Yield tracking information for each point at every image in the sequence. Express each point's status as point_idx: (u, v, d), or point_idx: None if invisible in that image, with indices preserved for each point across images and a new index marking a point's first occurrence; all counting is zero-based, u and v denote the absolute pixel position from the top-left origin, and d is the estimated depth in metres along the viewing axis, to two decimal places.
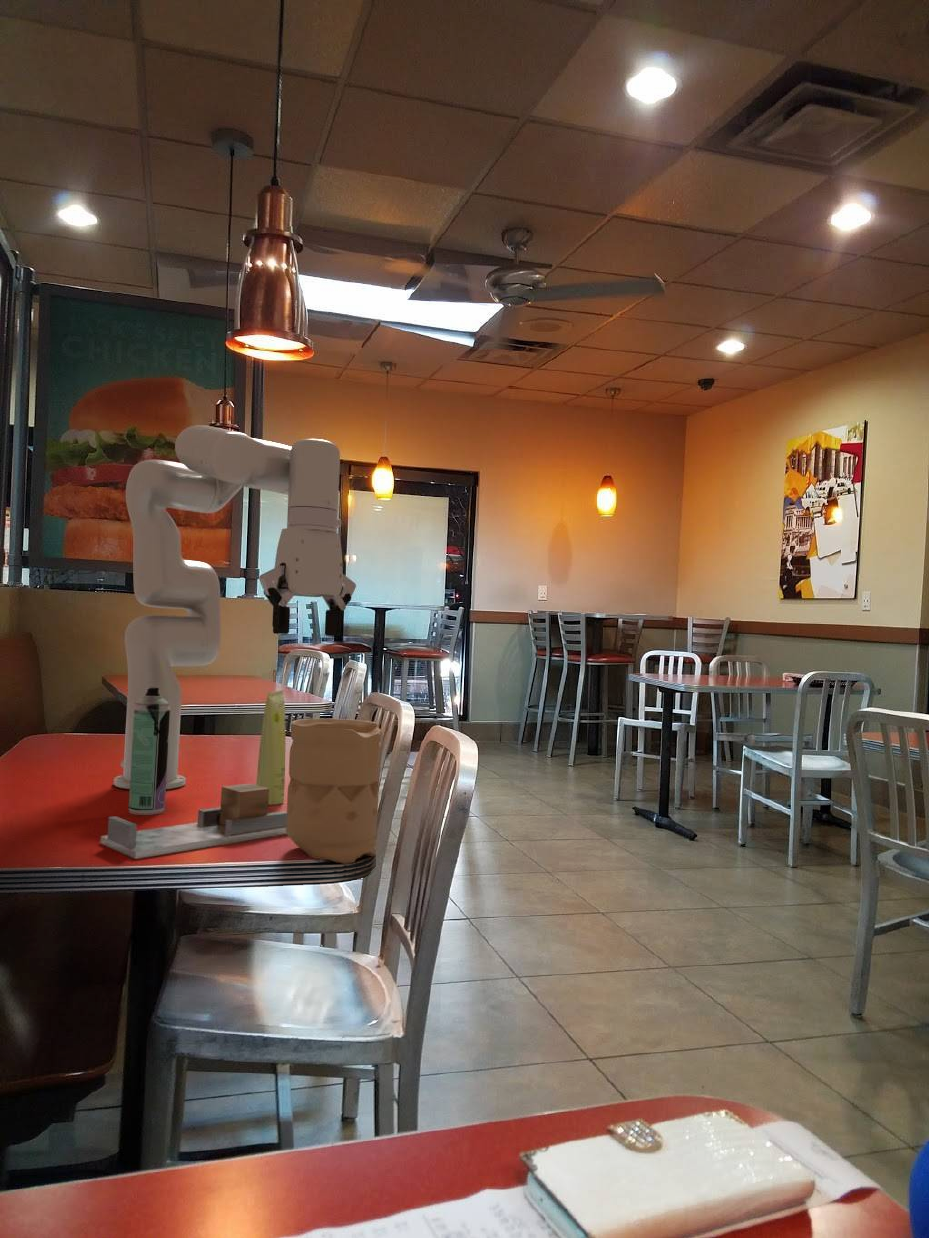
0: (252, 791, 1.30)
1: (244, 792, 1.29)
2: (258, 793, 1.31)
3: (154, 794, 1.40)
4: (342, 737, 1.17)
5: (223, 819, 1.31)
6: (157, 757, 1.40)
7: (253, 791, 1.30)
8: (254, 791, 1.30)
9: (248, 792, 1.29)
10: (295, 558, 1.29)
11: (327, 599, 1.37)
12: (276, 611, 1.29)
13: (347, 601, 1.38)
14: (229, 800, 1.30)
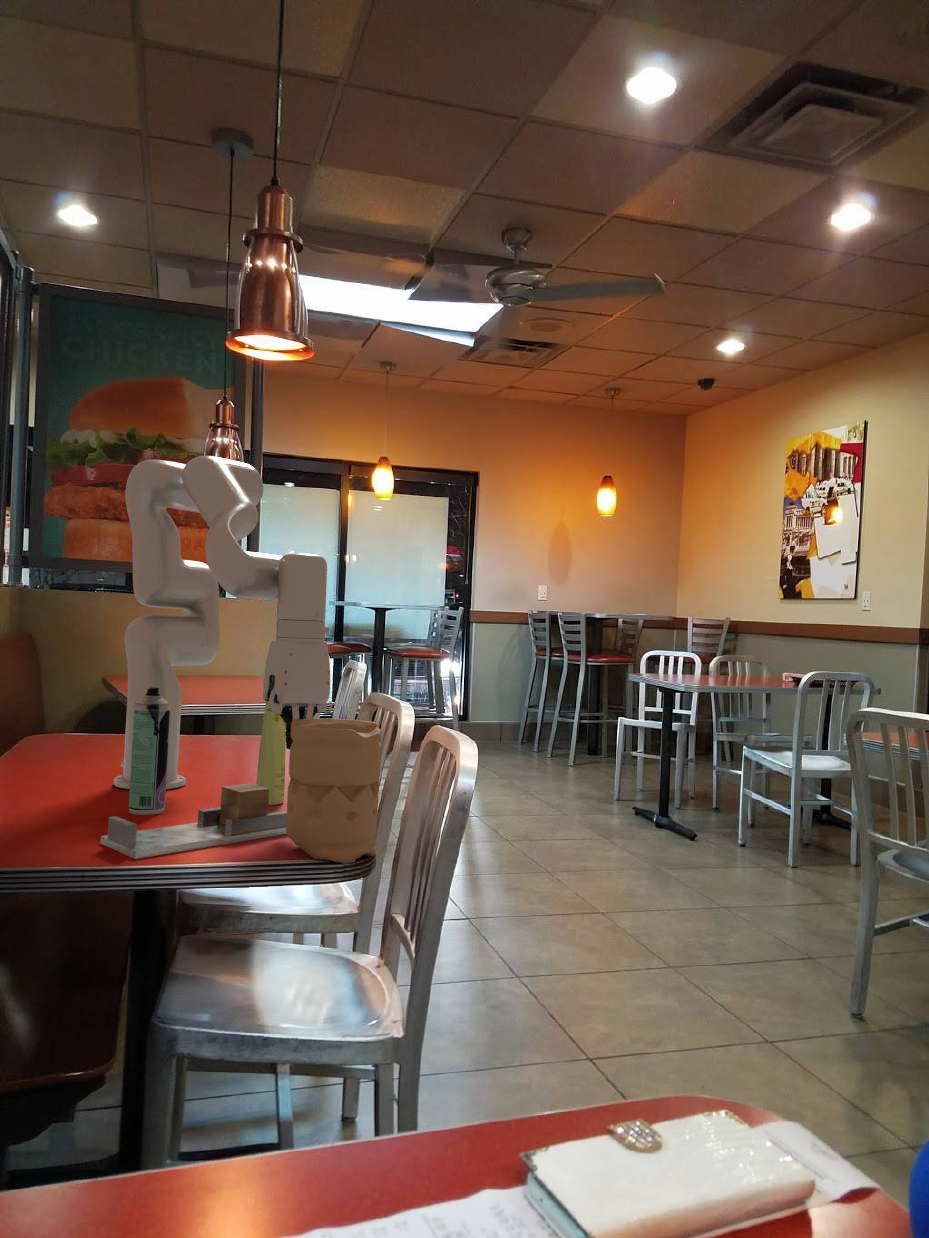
0: (252, 791, 1.30)
1: (244, 792, 1.29)
2: (258, 793, 1.31)
3: (154, 794, 1.40)
4: (342, 737, 1.17)
5: (223, 819, 1.31)
6: (157, 757, 1.40)
7: (253, 791, 1.30)
8: (254, 791, 1.30)
9: (248, 792, 1.29)
10: (283, 671, 1.33)
11: (299, 708, 1.39)
12: (289, 729, 1.37)
13: (313, 714, 1.39)
14: (229, 800, 1.30)
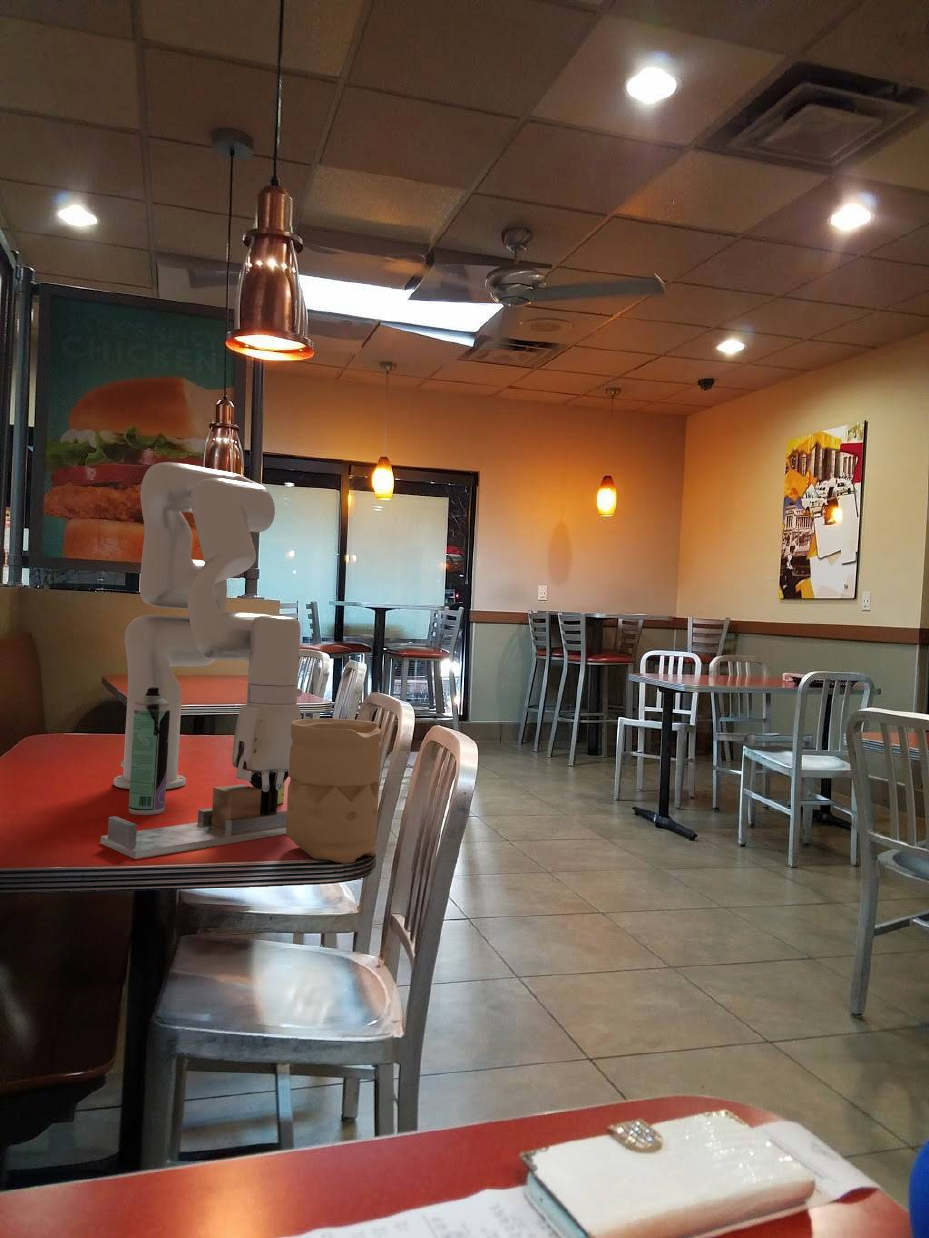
0: (244, 792, 1.29)
1: (236, 793, 1.28)
2: (250, 794, 1.30)
3: (154, 794, 1.40)
4: (342, 737, 1.17)
5: (215, 820, 1.30)
6: (157, 757, 1.40)
7: (245, 792, 1.29)
8: (246, 792, 1.29)
9: (240, 793, 1.28)
10: (253, 738, 1.30)
11: (270, 773, 1.36)
12: None
13: (284, 779, 1.36)
14: (221, 801, 1.29)
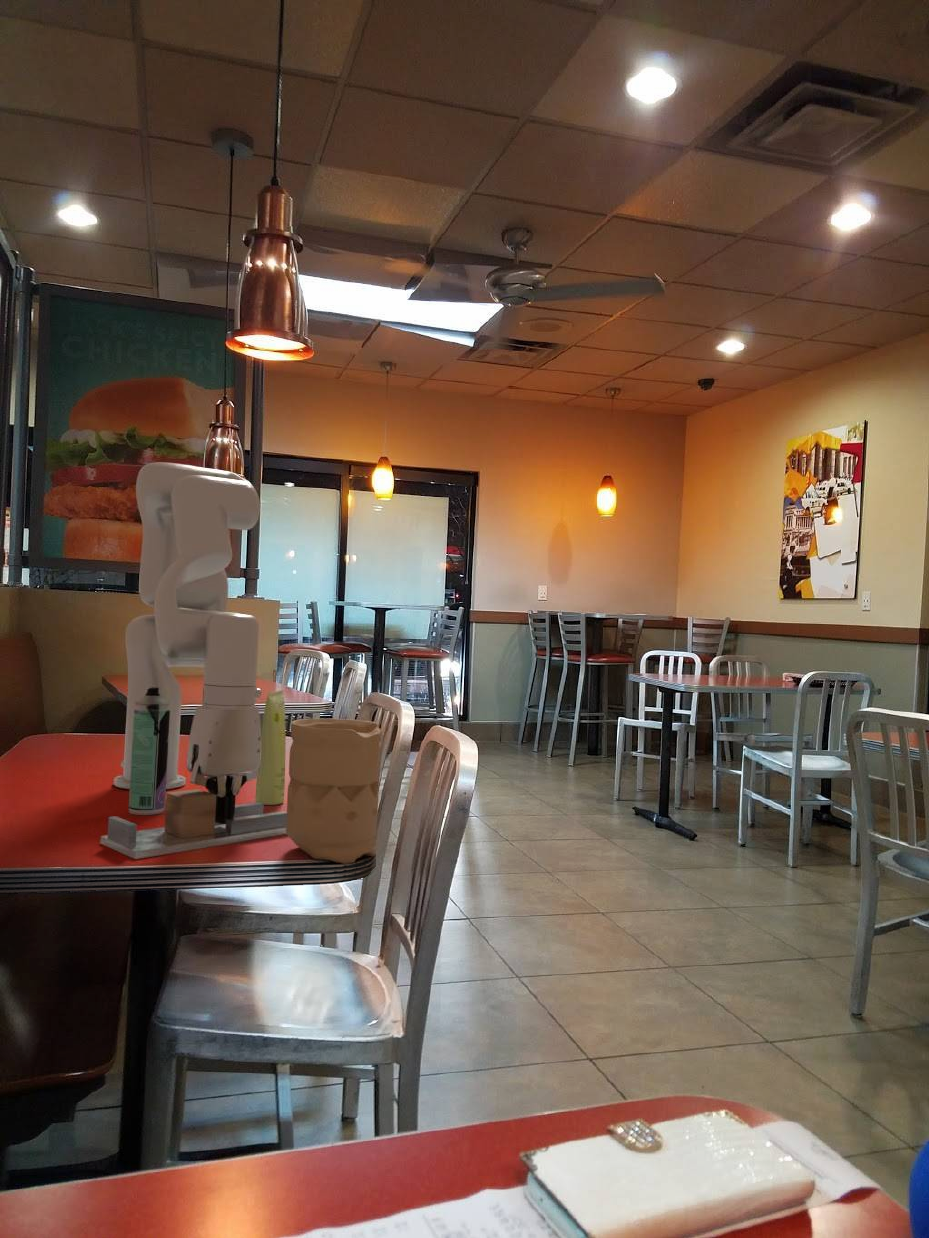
0: (197, 798, 1.23)
1: (189, 799, 1.22)
2: (204, 799, 1.24)
3: (154, 794, 1.40)
4: (342, 737, 1.17)
5: (167, 827, 1.24)
6: (157, 757, 1.40)
7: (199, 798, 1.23)
8: (200, 798, 1.23)
9: (193, 799, 1.23)
10: (208, 741, 1.25)
11: (227, 777, 1.30)
12: None
13: (242, 784, 1.30)
14: (174, 807, 1.23)
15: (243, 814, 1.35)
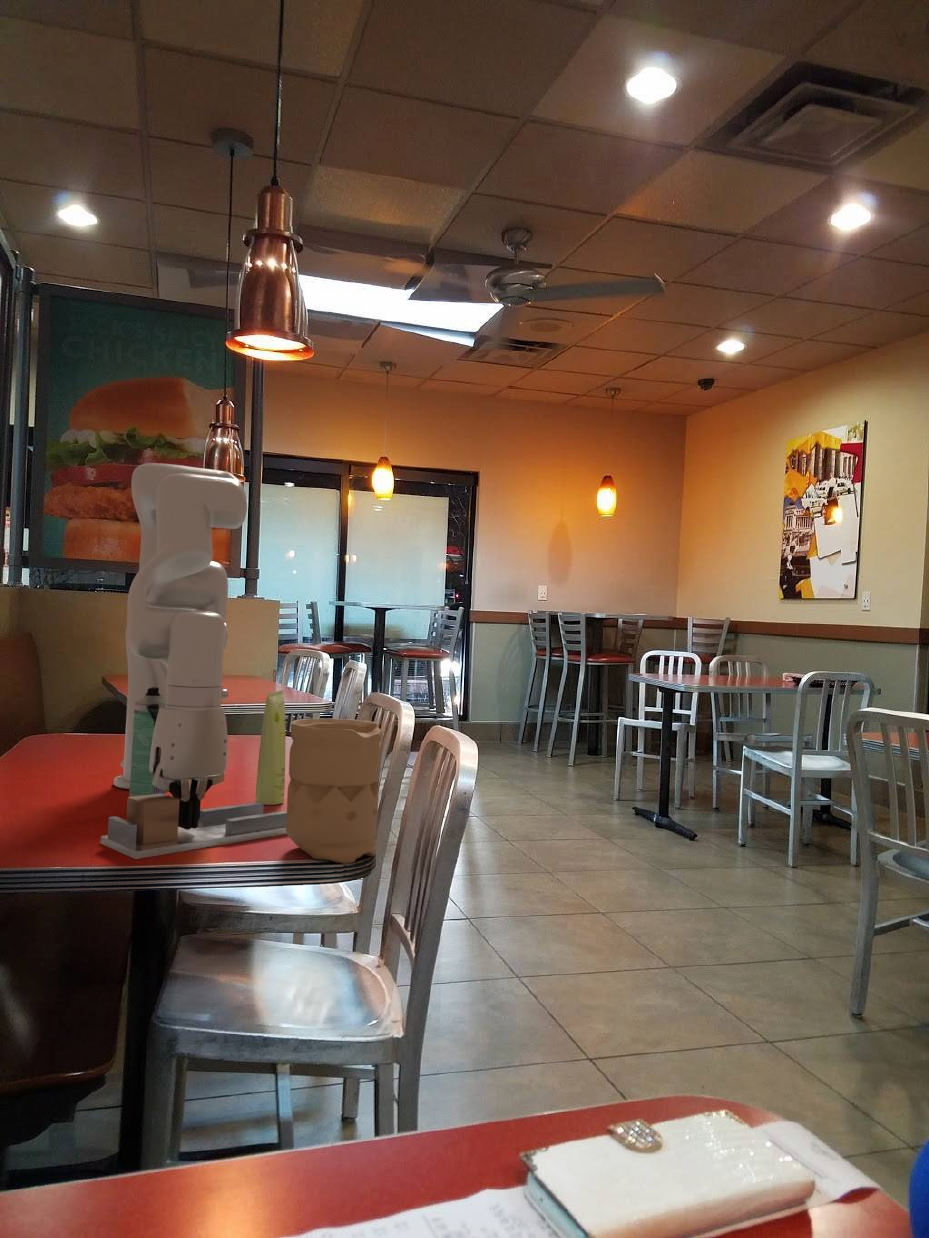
0: (159, 802, 1.19)
1: (150, 803, 1.18)
2: (167, 804, 1.20)
3: None
4: (342, 737, 1.17)
5: None
6: None
7: (160, 802, 1.19)
8: (162, 802, 1.19)
9: (154, 803, 1.18)
10: (170, 743, 1.20)
11: (192, 781, 1.26)
12: None
13: (207, 787, 1.26)
14: (135, 812, 1.19)
15: (243, 814, 1.35)
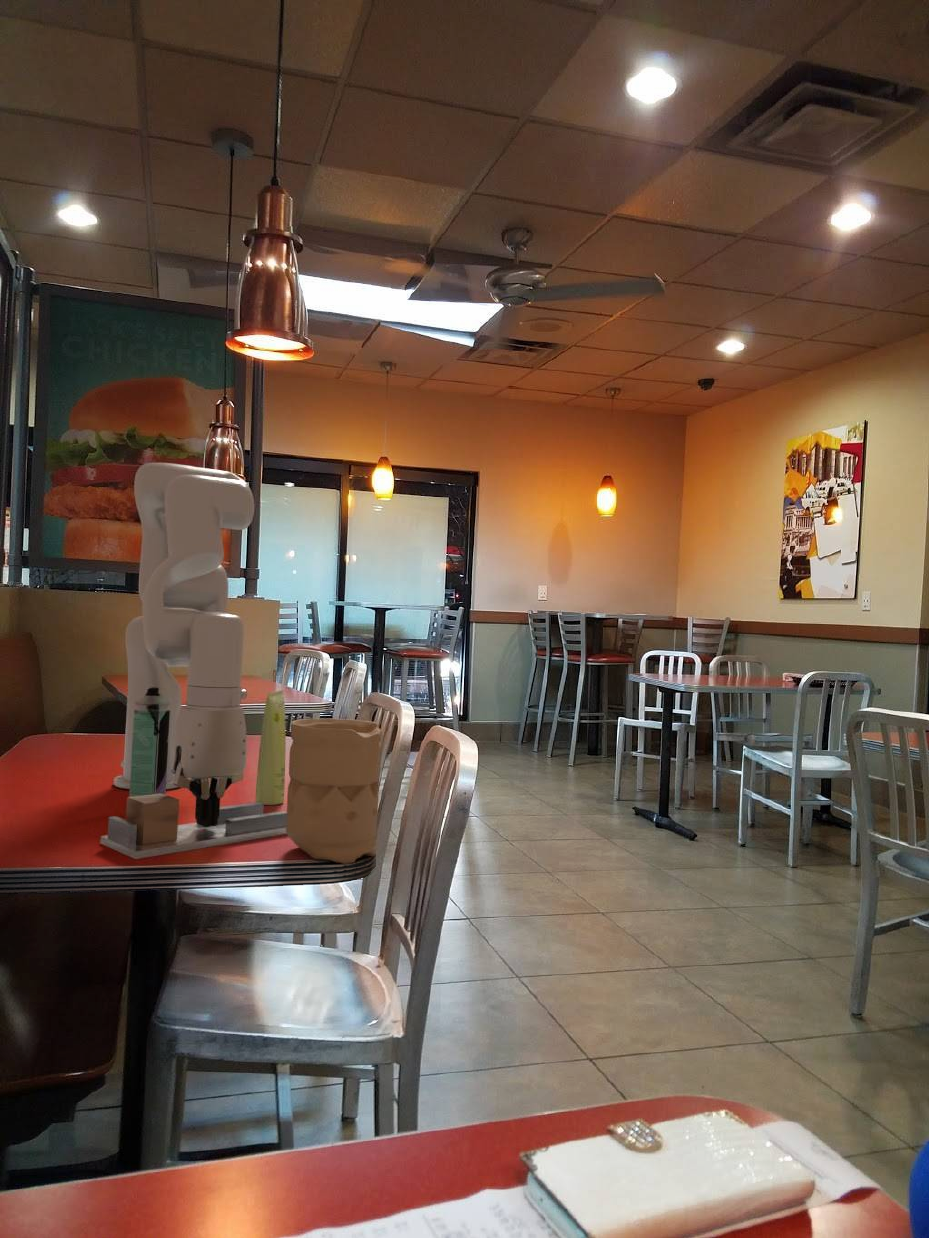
0: (159, 802, 1.19)
1: (149, 803, 1.18)
2: (166, 804, 1.20)
3: None
4: (342, 737, 1.17)
5: None
6: (157, 757, 1.40)
7: (160, 802, 1.19)
8: (161, 802, 1.19)
9: (154, 803, 1.18)
10: (191, 742, 1.23)
11: (212, 779, 1.29)
12: (198, 803, 1.26)
13: (227, 786, 1.29)
14: (134, 812, 1.19)
15: (243, 814, 1.35)
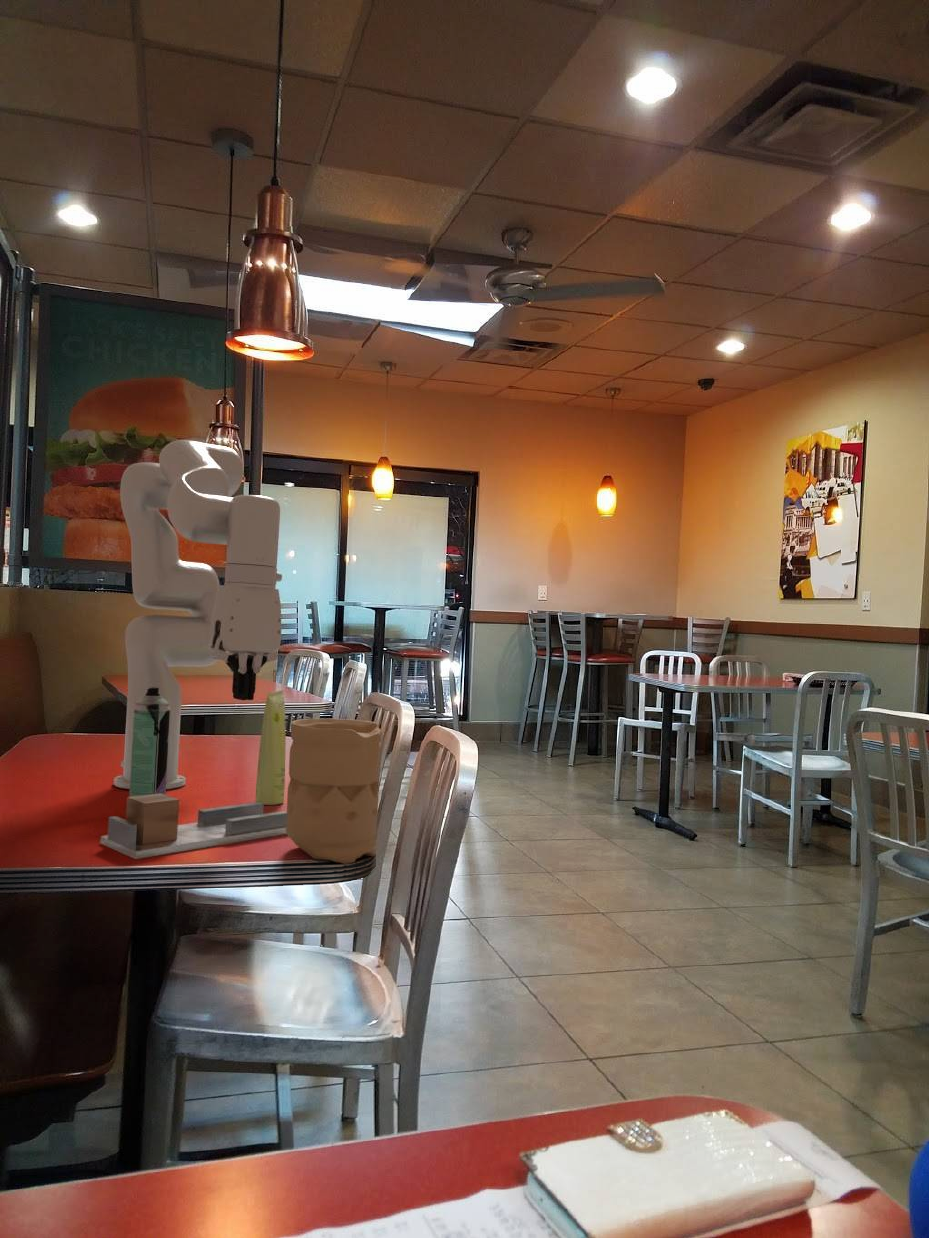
0: (159, 802, 1.19)
1: (149, 803, 1.18)
2: (166, 804, 1.20)
3: None
4: (342, 737, 1.17)
5: None
6: (157, 757, 1.40)
7: (160, 802, 1.19)
8: (161, 802, 1.19)
9: (154, 803, 1.18)
10: (230, 616, 1.28)
11: (248, 657, 1.34)
12: (236, 677, 1.32)
13: (262, 663, 1.34)
14: (134, 812, 1.19)
15: (243, 814, 1.35)
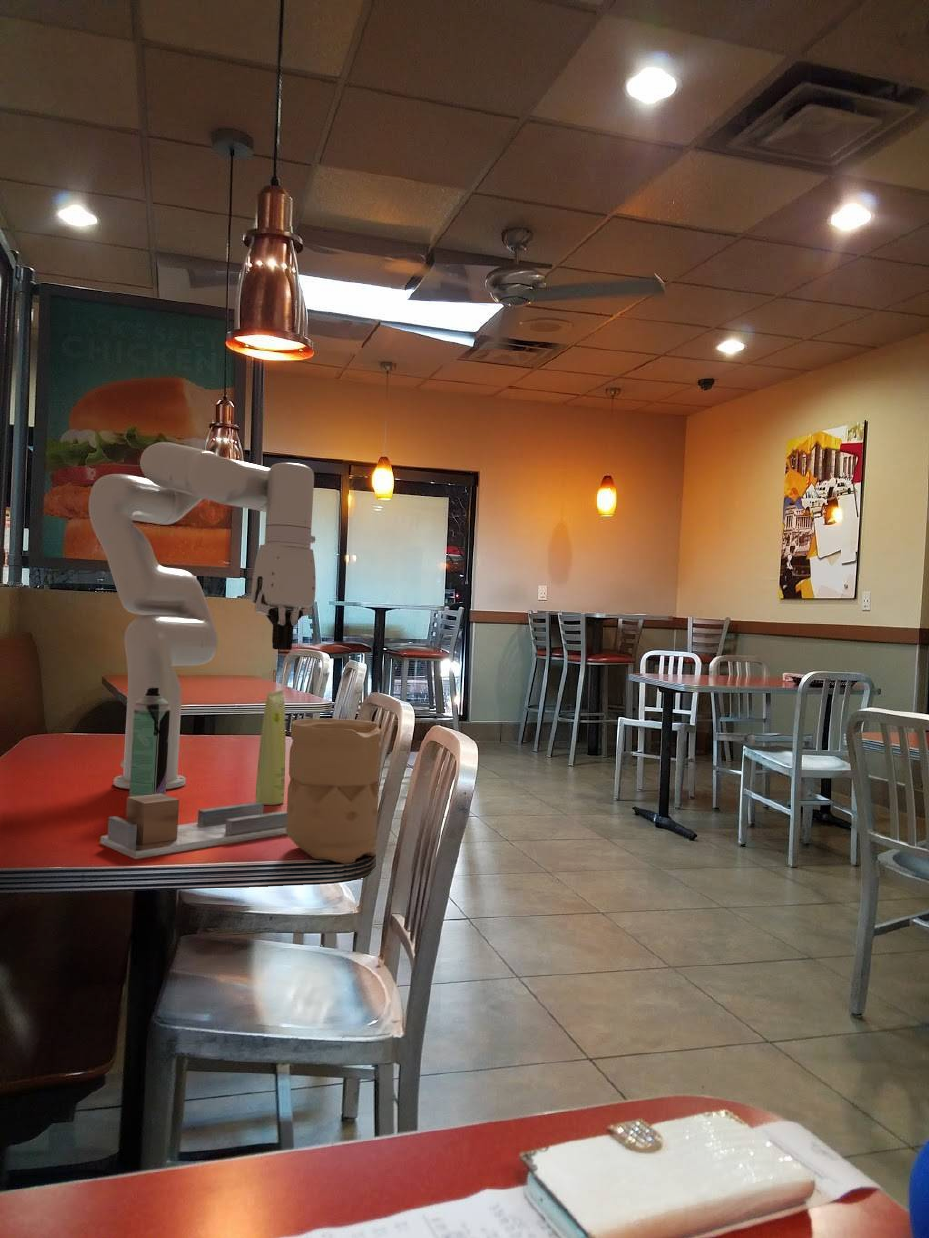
0: (159, 802, 1.19)
1: (149, 803, 1.18)
2: (166, 804, 1.20)
3: None
4: (342, 737, 1.17)
5: None
6: (157, 757, 1.40)
7: (160, 802, 1.19)
8: (161, 802, 1.19)
9: (154, 803, 1.18)
10: (271, 572, 1.41)
11: (286, 611, 1.47)
12: (275, 629, 1.44)
13: (299, 617, 1.47)
14: (134, 812, 1.19)
15: (243, 814, 1.35)
